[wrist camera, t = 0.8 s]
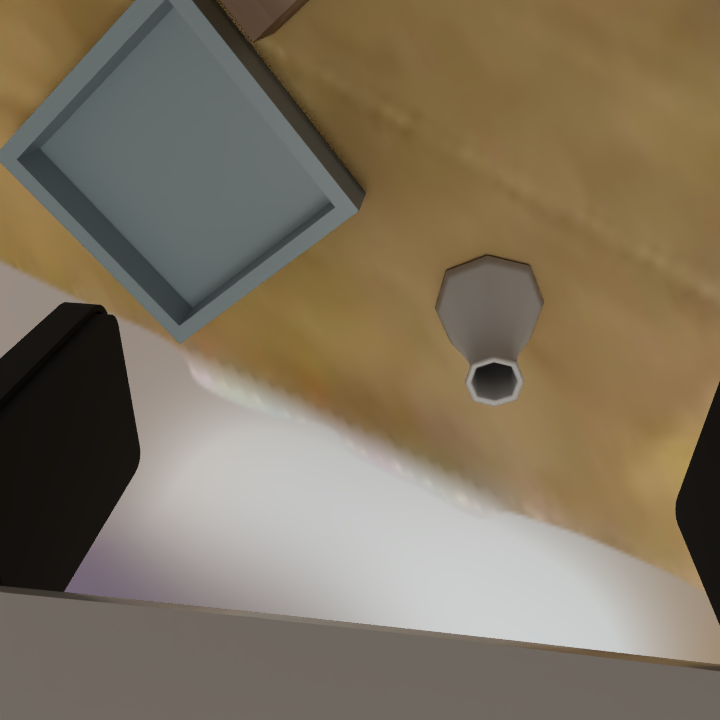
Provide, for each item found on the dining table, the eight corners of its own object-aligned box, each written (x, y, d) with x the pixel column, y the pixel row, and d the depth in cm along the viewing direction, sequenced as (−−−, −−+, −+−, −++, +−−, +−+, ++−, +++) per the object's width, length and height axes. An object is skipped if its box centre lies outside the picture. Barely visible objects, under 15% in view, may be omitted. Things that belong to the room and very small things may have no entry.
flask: (431, 257, 45) (424, 328, 36) (544, 250, 43) (563, 321, 35) (438, 351, 48) (433, 436, 40) (542, 347, 47) (560, 434, 38)
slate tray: (189, -34, 37) (165, -34, 34) (365, 193, 43) (358, 210, 40) (25, 142, 44) (-6, 156, 41) (196, 320, 49) (179, 343, 46)
